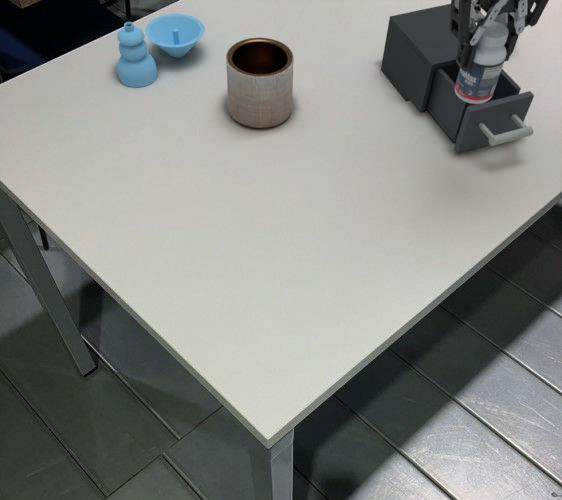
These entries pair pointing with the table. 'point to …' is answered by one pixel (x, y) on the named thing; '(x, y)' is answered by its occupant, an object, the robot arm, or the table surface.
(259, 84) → the planter
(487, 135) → the pull-out drawer
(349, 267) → the table surface
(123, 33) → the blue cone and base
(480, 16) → the robot arm
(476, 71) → the pill bottle
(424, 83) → the small drawer cabinet
